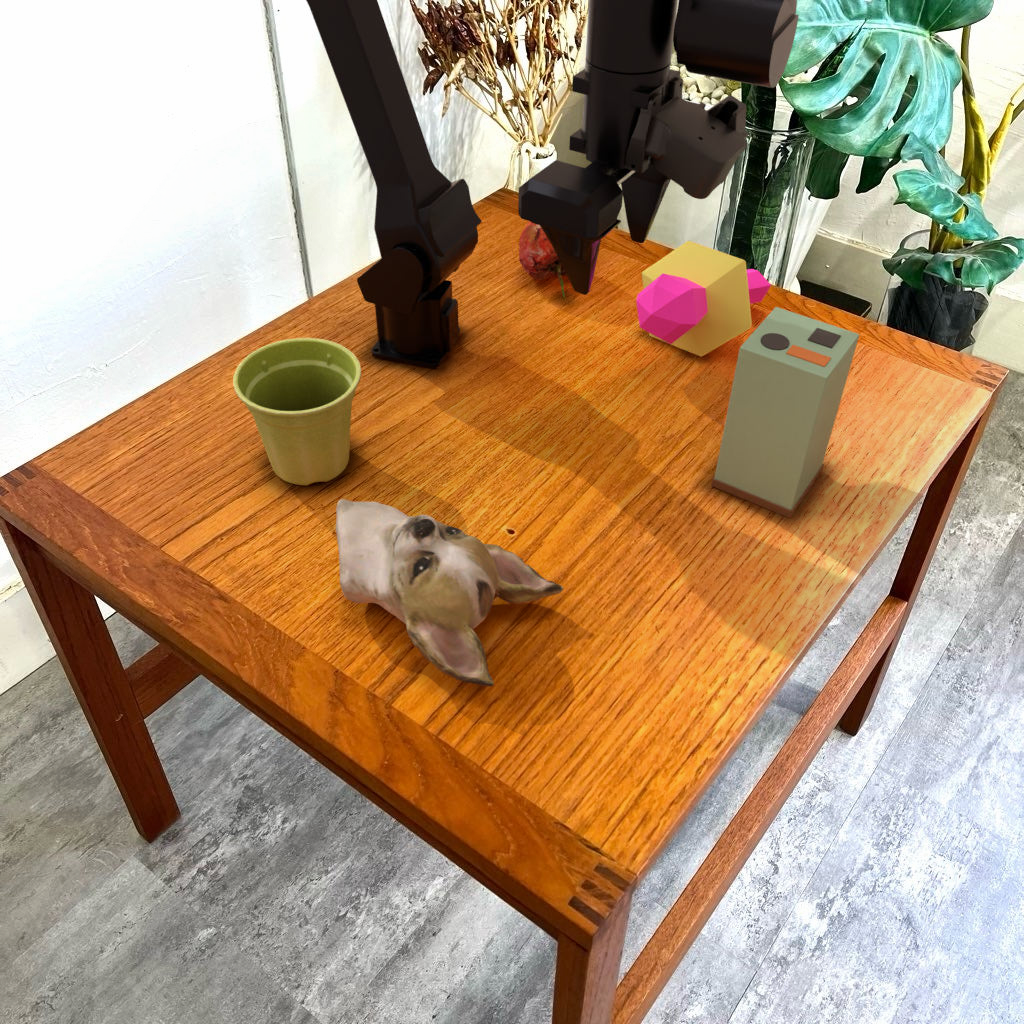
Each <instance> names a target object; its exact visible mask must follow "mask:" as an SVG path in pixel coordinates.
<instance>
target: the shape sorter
mask: <svg viewBox="0 0 1024 1024" xmlns="http://www.w3.org/2000/svg"><path fill="white" fill-rule="evenodd" d="M859 338H860V333H858V332H854V331H852V330H848V329H846V328H845V329H844V328H842V327H839V326H836V325H834V324H829V323H827V322H825V321H821V320H819V319H814V318H811V317H808V316H805V315H802V314H799V313H796V312H793V311H789V310H787V309H784V308H781V307H779V306H775V307H774V308H773V309H772V310H771V311H770V313H769V314H768V315H767V316H766V317H765V318H764V319H763V321H762V322H760V324H759V325H758V326H757V327H756V329H755V330H754V331H753V332H752V333H751V334H750V335H749V337H747V339H746V340H745V341H744V342H743V343H742V344H741V345H740V347H739V349H738V355H737V360H736V364H735V370H734V376H733V380H732V385H731V391H730V395H729V396H730V397H729V401H728V407H727V411H726V416H725V421H724V427H723V431H722V432H723V433H722V436H721V441H720V447H719V453H718V456H717V457H718V458H717V464H716V468H715V474H714V477H712V481H711V487H714V488H716V489H718V490H721V491H723V492H725V493H728V494H731V495H732V496H735V497H738V498H740V499H742V500H745V501H747V502H750V503H752V504H755V505H756V506H759V507H762V508H764V509H767V510H769V511H771V512H773V513H776V514H778V515H781V516H784V517H786V518H789V519H791V518H792V517H793V515H794V513H795V512H796V510H797V509H798V507H799V506H800V505H801V503H802V501H804V499H805V498H806V496H807V494H808V493H809V491H810V490H811V488H812V487H813V485H814V484H815V482H816V481H817V479H818V478H819V477H820V475H821V473H823V469H824V460H825V457H826V453H827V450H828V446H829V443H830V441H831V435H832V432H833V429H834V426H835V422H836V419H837V415H838V411H839V408H840V404H841V401H842V398H843V394H844V390H845V387H846V384H847V380H848V376H849V374H850V370H851V367H852V363H853V359H854V356H855V352H856V350H857V345H858V343H859V342H858V341H859Z"/></svg>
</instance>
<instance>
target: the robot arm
mask: <svg viewBox="0 0 1024 1024" xmlns="http://www.w3.org/2000/svg"><path fill="white" fill-rule="evenodd" d="M305 1H306V3H307V5H308V8H309V10H310V13H311V15H312V18H313V21H314V23H315V26H316V28H317V31H318V35H319V37H320V40H321V42H322V44H323V48H324V50H325V52H326V55H327V57H328V60H329V63H330V67H331V68H332V71H333V74H334V76H335V79H336V82H337V84H338V87H339V90H340V93H341V95H342V98H343V100H344V103H345V105H346V109H347V111H348V114H349V117H350V119H351V123H352V124H353V126H354V130H355V133H356V135H357V137H358V141H359V143H360V146H361V148H362V151H363V154H364V157H365V159H366V161H367V164H368V168H369V170H370V172H371V176H372V178H373V181H374V183H375V188H376V197H375V210H374V224H373V225H374V227H373V229H374V233H375V238H376V242H377V247H378V250H379V255H380V259H379V260H377V261H376V262H375V263H373V264H372V265H371V267H369V268H368V269H366V270H365V271H364V272H363V273H362V274H361V275H360V276H359V277H357V278H356V283H357V285H358V288H359V290H360V292H361V295H362V297H363V299H364V301H365V302H366V303H370V304H373V305H374V311H375V312H374V313H375V321H376V322H375V323H376V332H377V341H376V342H375V344H374V345H373V346H372V348H371V350H370V354H371V356H372V357H374V358H377V359H382V360H388V361H392V362H393V361H394V362H398V363H404V364H408V365H413V366H418V367H419V366H420V367H425V368H429V369H438V368H439V367H440V366H441V364H442V363H443V361H444V359H445V358H446V356H447V355H448V354H449V353H451V352H452V349H453V348H454V346H455V345H456V343H457V341H458V340H459V338H460V334H461V327H460V325H459V301H458V299H456V298H453V282H452V281H451V280H447V279H448V278H449V277H450V276H451V275H452V274H454V273H456V272H457V271H458V270H459V268H460V266H461V265H463V263H464V262H465V261H466V260H467V259H468V258H470V257H471V256H472V255H473V252H474V251H475V249H476V246H477V245H478V243H479V231H478V226H479V225H481V224H482V220H481V218H480V217H479V215H478V213H477V212H476V210H475V207H474V206H473V202H472V199H471V192H470V187H469V184H468V182H467V181H466V179H464V178H459V179H457V180H453V181H451V180H449V178H448V177H446V176H445V175H444V174H443V173H442V172H441V171H440V170H439V169H438V168H437V167H436V166H435V164H434V162H433V159H432V157H431V154H430V151H429V148H428V145H427V143H426V139H425V137H424V134H423V131H422V128H421V125H420V121H419V118H418V116H417V113H416V110H415V107H414V104H413V102H412V101H413V100H412V98H411V96H410V92H409V88H408V86H407V84H406V80H405V77H404V75H403V72H402V69H401V66H400V63H399V60H398V58H397V57H398V56H397V54H396V52H395V51H396V50H395V48H394V46H393V42H392V40H391V36H390V34H389V31H388V28H387V25H386V22H385V19H384V16H383V13H382V10H381V7H380V4H379V1H378V0H305ZM797 6H798V0H588V10H587V28H586V45H585V60H584V61H585V63H584V69H582V70H581V71H578V73H575V74H574V75H573V76H572V82H571V83H572V85H571V92H572V93H577V94H581V95H583V98H582V118H581V128H579V129H578V130H576V131H575V132H573V133H572V134H571V135H569V148H568V150H569V151H573V152H575V153H576V152H577V153H580V154H583V155H585V160H587V161H588V162H590V164H588V165H587V166H586V167H583V166H579V165H575V164H572V163H568V162H564V161H560V160H557V159H555V160H554V161H552V162H551V163H550V164H548V165H547V166H546V167H544V168H543V169H541V170H540V171H539V172H537V173H536V174H534V175H533V176H531V177H530V178H529V179H527V181H526V182H524V183H522V184H521V185H520V186H519V187H518V205H517V206H518V207H517V213H518V216H519V218H520V219H522V220H525V221H527V222H532V223H534V224H537V225H540V226H541V228H542V230H543V231H544V233H545V235H546V236H547V238H548V239H549V241H550V243H551V245H552V246H553V248H554V250H555V252H556V254H557V256H558V258H559V260H560V262H561V264H562V266H563V268H564V270H565V273H566V275H565V276H566V277H567V279H568V281H569V283H570V285H571V287H572V289H573V291H574V292H575V293H576V294H577V293H578V294H581V295H584V296H587V295H588V294H589V293H590V291H591V289H592V288H591V287H592V283H593V281H594V275H595V271H596V267H597V263H598V262H597V261H598V256H599V251H600V248H601V247H600V246H601V243H602V239H604V238H605V237H606V236H607V235H608V234H609V233H611V232H612V231H613V230H614V229H615V228H617V226H619V225H621V223H622V220H621V219H618V217H619V215H620V212H621V210H622V207H623V205H624V212H625V216H626V223H627V227H628V232H629V237H630V239H631V241H633V242H635V243H638V244H644V243H645V242H647V241H646V240H647V238H648V236H649V233H650V231H651V228H652V226H653V223H654V221H655V219H656V216H657V214H658V211H659V208H660V206H661V204H662V201H663V199H664V197H665V194H666V192H667V189H668V187H669V185H670V184H671V183H670V182H671V181H672V182H674V183H675V184H677V185H678V186H680V187H681V188H682V190H683V192H684V193H685V194H687V195H688V196H690V197H692V198H694V199H697V200H704V199H707V198H709V196H711V194H712V192H713V191H715V190H716V189H717V188H718V187H719V186H720V185H722V184H723V183H724V182H725V181H726V179H727V177H728V175H729V174H730V172H731V170H732V168H733V167H734V165H735V163H736V162H737V160H738V158H739V157H740V155H741V154H742V153H743V152H745V151H746V150H747V147H748V143H747V141H746V140H747V138H748V137H749V135H750V133H749V132H747V131H746V125H747V124H746V123H747V121H746V120H747V105H746V103H744V102H743V101H741V100H739V99H738V98H737V97H735V96H734V95H731V94H728V95H727V96H726V97H724V98H723V99H722V100H719V102H717V103H716V104H714V105H713V106H712V107H710V108H709V109H705V108H706V106H707V104H706V103H704V102H703V101H701V102H700V103H697V102H693V101H688V100H686V99H684V98H683V87H684V79H683V78H681V71H680V70H675V69H671V65H672V55H673V50H674V51H675V55H676V56H675V57H676V63H677V64H678V65H683V66H684V68H685V70H686V72H688V73H690V74H695V75H699V76H700V75H701V76H705V77H712V78H716V79H722V80H727V81H731V82H732V81H733V82H738V83H742V84H748V85H755V86H760V87H765V88H769V89H773V88H776V86H777V85H778V84H779V82H780V80H781V78H782V76H783V74H784V72H785V69H786V67H787V64H788V61H789V58H790V56H791V52H792V48H793V45H794V41H795V37H796V33H797V28H798V24H799V23H798V22H799V17H800V15H799V14H797V8H798V7H797Z"/></svg>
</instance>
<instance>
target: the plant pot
mask: <svg viewBox="0 0 1024 1024" xmlns="http://www.w3.org/2000/svg"><path fill="white" fill-rule="evenodd" d="M361 377H362V367H361V363H360V360H359V358H358V357H357V356H356V355H355V353H354V352H352V351H351V350H350V349H348V348H347V347H345V346H344V345H341V344H340V343H338V342H335V341H331V340H328V339H323V338H317V337H315V338H314V337H296V338H287V339H283V340H278V341H273V342H271V343H268V344H266V345H264V346H260V348H257V349H256V350H253V351H252V352H251V353H248V355H247V356H245V357H244V358H243V359H242V361H241V362H240V363H239V364H238V365H237V367H236V370H235V371H234V374H233V378H232V384H233V389H234V391H235V394H236V395H237V397H238V398H239V400H240V401H241V402H242V403H243V404H245V406H246V408H247V410H248V411H249V413H251V415H252V418H253V420H254V423H255V424H256V427H257V430H258V433H259V436H260V438H261V441H262V444H263V447H264V449H265V452H266V454H267V457H268V460H269V463H270V465H271V468H272V470H273V472H274V473H275V475H276V476H277V477H279V478H280V479H281V480H283V481H284V482H286V483H290V484H292V485H298V486H309V485H311V484H314V483H319V482H329V481H332V480H334V479H335V478H337V477H338V476H340V475H341V474H342V473H343V472H344V471H345V469H346V468H347V466H348V463H349V461H350V445H351V427H352V425H351V424H352V423H351V422H352V410H353V409H352V407H353V400H354V399H355V395H356V390H357V387H358V386H359V385H360V382H361Z"/></svg>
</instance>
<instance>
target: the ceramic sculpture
mask: <svg viewBox="0 0 1024 1024" xmlns="http://www.w3.org/2000/svg"><path fill="white" fill-rule="evenodd" d="M335 509H336V522H335V534H336V541H337V548H338V561H339V583H340V587H341V591H342V594H343V596H344V597H345V598H346V599H347V600H348V601H350V602H352V603H354V604H367V603H368V604H369V603H370V604H376V605H379V606H380V607H382V609H384V610H386V611H387V612H389V613H390V614H391V615H393V616H395V617H396V618H397V619H398V620H400V621H401V622H402V623H404V624H405V626H406V632H407V635H408V637H409V639H410V641H411V643H412V644H413V646H414V647H415V648H416V649H418V650H419V652H420V654H421V655H422V656H423V657H424V658H425V660H426V661H428V662H429V663H431V664H432V665H433V666H434V667H435V668H436V669H437V670H438V671H440V672H441V673H442V674H444V675H446V676H449V677H452V678H453V679H455V680H457V681H460V682H464V683H467V684H473V685H478V686H485V687H493V686H494V685H495V682H494V680H493V678H492V676H491V674H490V671H489V667H488V661H487V655H486V651H485V648H484V645H483V643H482V641H481V640H480V638H479V635H478V634H477V633H476V632H475V630H474V629H475V628H477V627H478V626H479V625H480V624H481V623H482V622H484V621H485V619H486V618H487V616H488V614H489V613H490V611H491V608H492V606H493V602H494V600H495V599H494V598H495V597H497V598H499V599H501V600H502V601H504V602H507V603H509V604H515V605H516V604H517V605H518V604H519V605H520V604H525V603H529V602H533V601H538V600H540V599H544V598H547V597H552V596H554V595H555V596H556V595H558V594H560V593H561V592H562V591H564V586H562V585H561V584H558V583H556V582H554V581H551V580H547V579H546V578H545V577H543V576H542V575H540V574H539V572H538V571H536V570H535V569H534V568H533V567H531V565H529V564H526V563H525V562H524V559H523V558H521V557H519V556H518V555H517V554H516V553H514V552H513V551H509V550H506V549H504V548H503V547H502V546H500V545H498V544H489V543H483V542H482V540H480V538H478V537H476V536H473V535H469V534H468V533H465V532H464V531H463V530H462V529H460V528H457V527H455V526H451V525H448V524H445V523H443V522H440V521H437V520H436V519H435V518H434V517H432V516H430V515H427V514H419V515H416V516H411V515H410V516H409V515H408V514H405V513H404V512H403V511H401V510H400V509H398V508H396V507H394V506H391V505H388V504H384V503H381V502H378V501H351V500H348V499H345V498H344V499H343V498H341V499H339V500H338V501H337V503H336V508H335Z"/></svg>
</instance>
